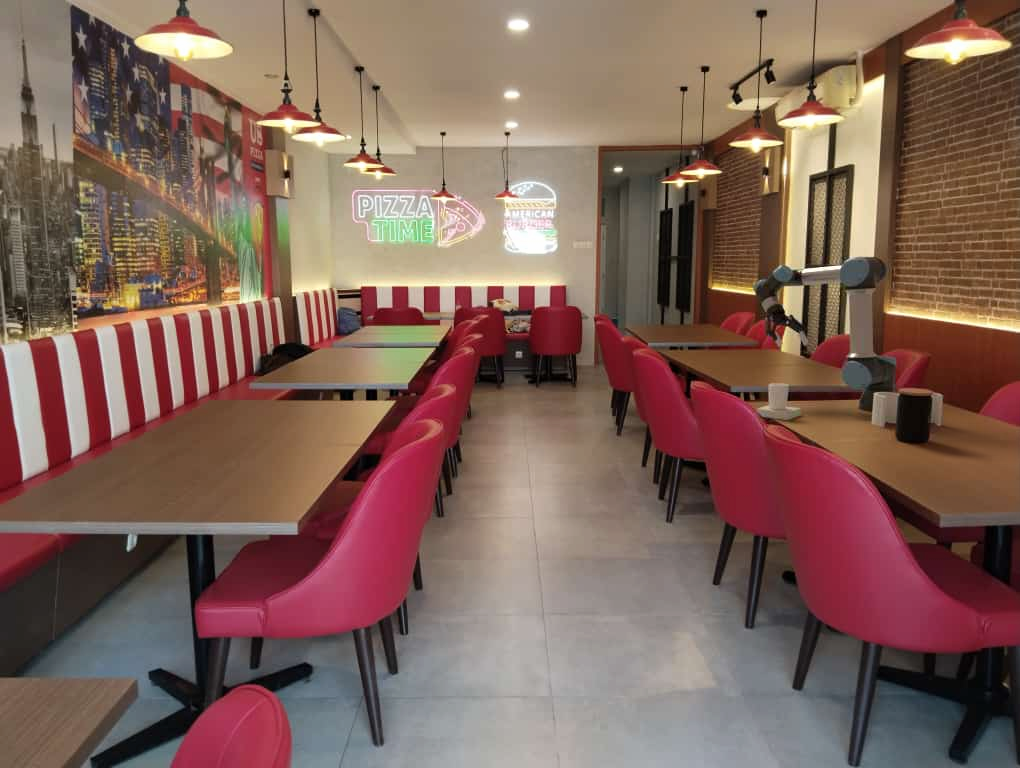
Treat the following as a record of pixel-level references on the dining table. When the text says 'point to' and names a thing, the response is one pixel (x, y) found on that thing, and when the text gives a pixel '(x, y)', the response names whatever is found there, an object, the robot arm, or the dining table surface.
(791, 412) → the plinth
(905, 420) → the coffee jar
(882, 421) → the bracket
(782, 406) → the white cup
